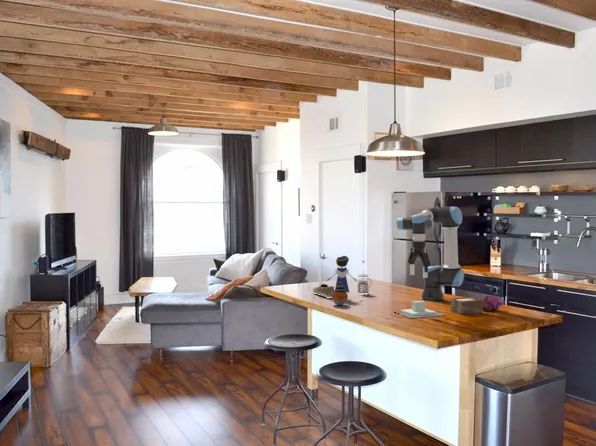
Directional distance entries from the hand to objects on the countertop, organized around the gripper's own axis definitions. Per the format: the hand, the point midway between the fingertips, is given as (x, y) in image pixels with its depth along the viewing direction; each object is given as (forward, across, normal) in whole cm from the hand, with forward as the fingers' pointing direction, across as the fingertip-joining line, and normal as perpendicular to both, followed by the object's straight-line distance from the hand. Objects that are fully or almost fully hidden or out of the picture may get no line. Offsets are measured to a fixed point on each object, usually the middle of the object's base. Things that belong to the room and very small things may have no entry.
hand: (418, 276), depth 306 cm
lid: (+22, 0, 0) cm, 22 cm away
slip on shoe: (+23, -80, -27) cm, 88 cm away
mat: (+23, 0, 0) cm, 23 cm away
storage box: (+23, +6, +30) cm, 38 cm away
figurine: (+23, -65, -20) cm, 72 cm away
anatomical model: (+23, +6, +49) cm, 54 cm away
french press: (+23, -75, +3) cm, 78 cm away
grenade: (+23, -42, -32) cm, 57 cm away
